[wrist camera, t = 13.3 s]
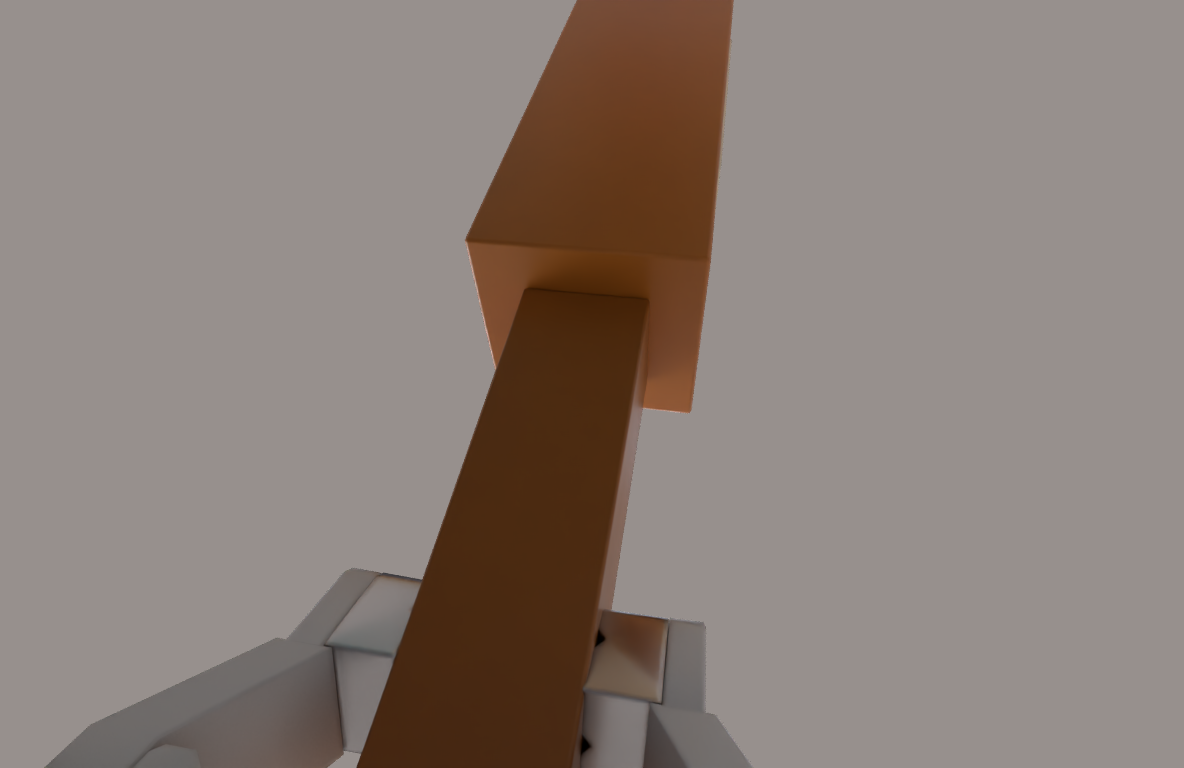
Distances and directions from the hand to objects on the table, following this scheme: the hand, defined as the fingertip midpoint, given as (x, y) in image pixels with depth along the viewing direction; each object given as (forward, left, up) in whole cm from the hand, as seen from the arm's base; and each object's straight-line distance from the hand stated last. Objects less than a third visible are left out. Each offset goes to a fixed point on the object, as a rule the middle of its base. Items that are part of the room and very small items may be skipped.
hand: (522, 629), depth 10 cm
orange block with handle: (+2, -7, -3) cm, 7 cm away
